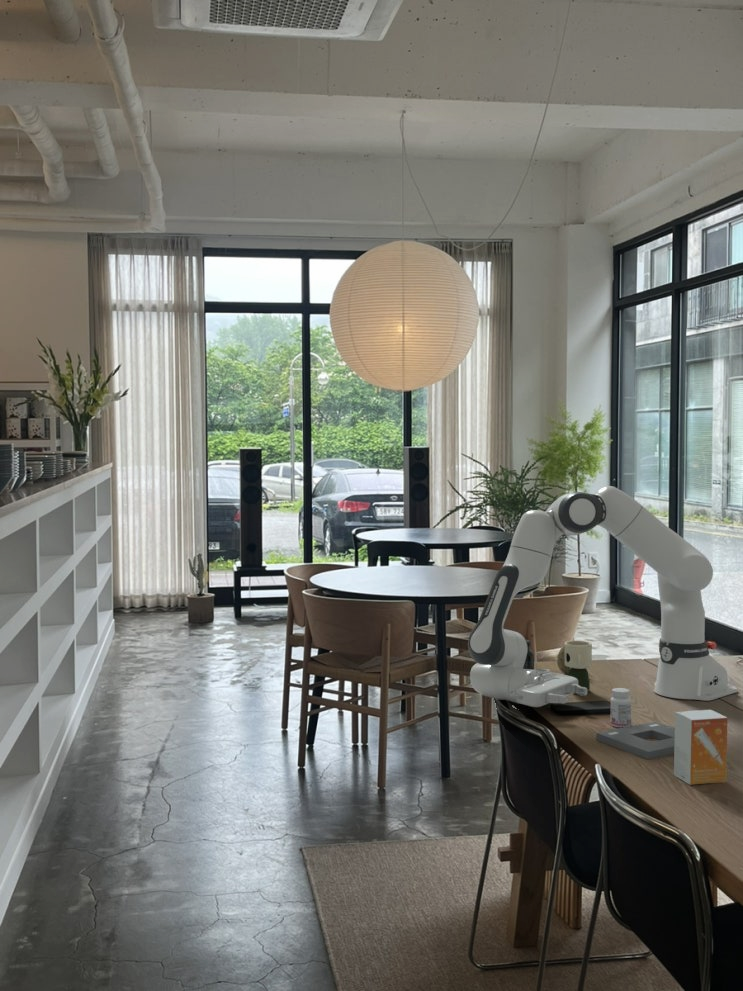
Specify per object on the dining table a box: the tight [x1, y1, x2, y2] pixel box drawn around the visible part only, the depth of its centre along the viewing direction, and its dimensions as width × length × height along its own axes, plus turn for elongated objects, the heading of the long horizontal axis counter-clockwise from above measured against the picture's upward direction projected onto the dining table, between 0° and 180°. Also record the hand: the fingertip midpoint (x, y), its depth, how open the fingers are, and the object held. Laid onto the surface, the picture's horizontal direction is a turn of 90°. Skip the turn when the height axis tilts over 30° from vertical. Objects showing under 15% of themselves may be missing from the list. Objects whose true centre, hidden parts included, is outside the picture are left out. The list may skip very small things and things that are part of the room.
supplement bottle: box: [523, 639, 535, 670], centre depth 274 cm, size 7×7×12 cm
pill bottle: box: [609, 687, 632, 728], centre depth 233 cm, size 5×5×8 cm
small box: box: [673, 709, 728, 786], centre depth 196 cm, size 8×6×13 cm
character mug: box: [564, 640, 593, 691], centre depth 266 cm, size 11×7×13 cm, turn 171°
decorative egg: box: [556, 643, 570, 675], centre depth 284 cm, size 7×7×10 cm
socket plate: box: [595, 721, 675, 760], centre depth 219 cm, size 18×16×2 cm
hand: (576, 695), depth 241 cm, fingers open, 8 cm apart
